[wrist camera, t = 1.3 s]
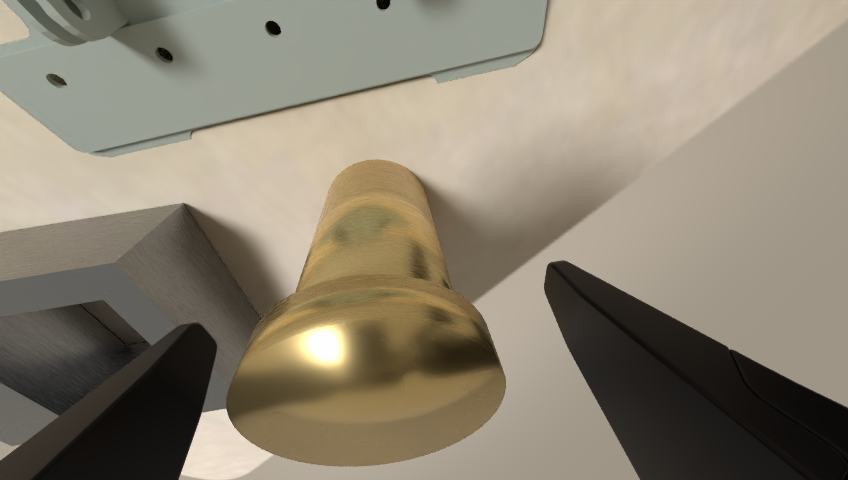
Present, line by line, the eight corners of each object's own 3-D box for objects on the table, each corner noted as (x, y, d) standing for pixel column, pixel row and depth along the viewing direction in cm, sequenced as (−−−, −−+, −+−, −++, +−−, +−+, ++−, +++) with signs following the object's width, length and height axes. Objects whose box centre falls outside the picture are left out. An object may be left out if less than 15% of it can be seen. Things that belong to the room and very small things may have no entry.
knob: (432, 136, 11) (512, 293, 4) (443, 246, 14) (502, 442, 7) (294, 157, 11) (156, 355, 4) (334, 265, 14) (292, 481, 7)
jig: (183, 203, 11) (114, 262, 8) (272, 336, 16) (247, 404, 13) (-93, 247, 11) (-261, 324, 8) (79, 369, 16) (11, 446, 13)
